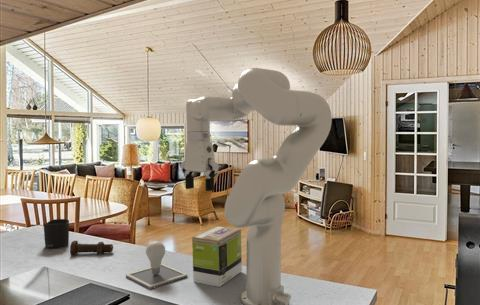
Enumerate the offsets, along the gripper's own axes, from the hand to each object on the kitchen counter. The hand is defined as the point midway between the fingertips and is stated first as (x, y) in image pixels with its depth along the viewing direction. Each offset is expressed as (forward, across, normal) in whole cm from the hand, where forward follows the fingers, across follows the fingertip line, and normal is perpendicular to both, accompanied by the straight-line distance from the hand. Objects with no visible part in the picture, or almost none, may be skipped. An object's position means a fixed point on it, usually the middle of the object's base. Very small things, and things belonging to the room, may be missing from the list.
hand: (199, 189), depth 131 cm
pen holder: (+26, +67, +18) cm, 74 cm away
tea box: (+28, -6, -1) cm, 29 cm away
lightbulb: (+27, +9, +12) cm, 31 cm away
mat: (+28, +8, +12) cm, 31 cm away
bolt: (+27, +46, +14) cm, 55 cm away
